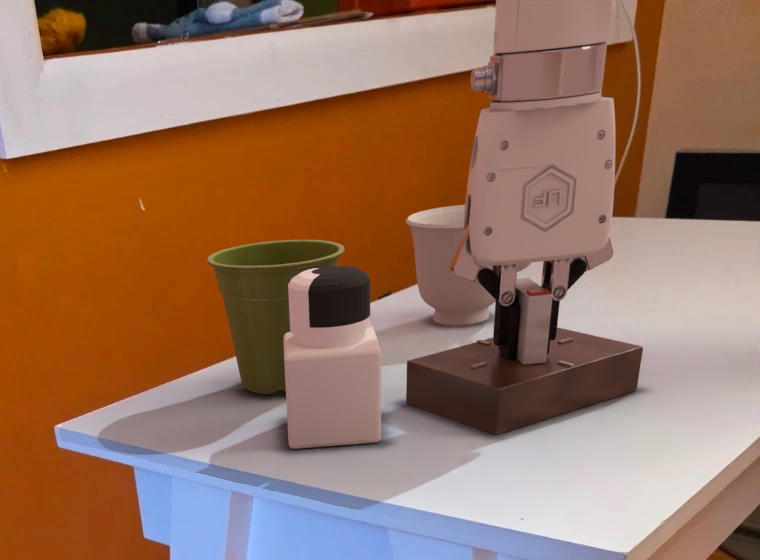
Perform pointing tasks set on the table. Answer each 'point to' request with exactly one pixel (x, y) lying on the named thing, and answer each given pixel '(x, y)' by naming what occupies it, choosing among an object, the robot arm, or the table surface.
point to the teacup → (446, 268)
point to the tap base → (522, 380)
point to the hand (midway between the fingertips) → (523, 350)
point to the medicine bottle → (331, 360)
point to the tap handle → (533, 321)
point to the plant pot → (264, 301)
